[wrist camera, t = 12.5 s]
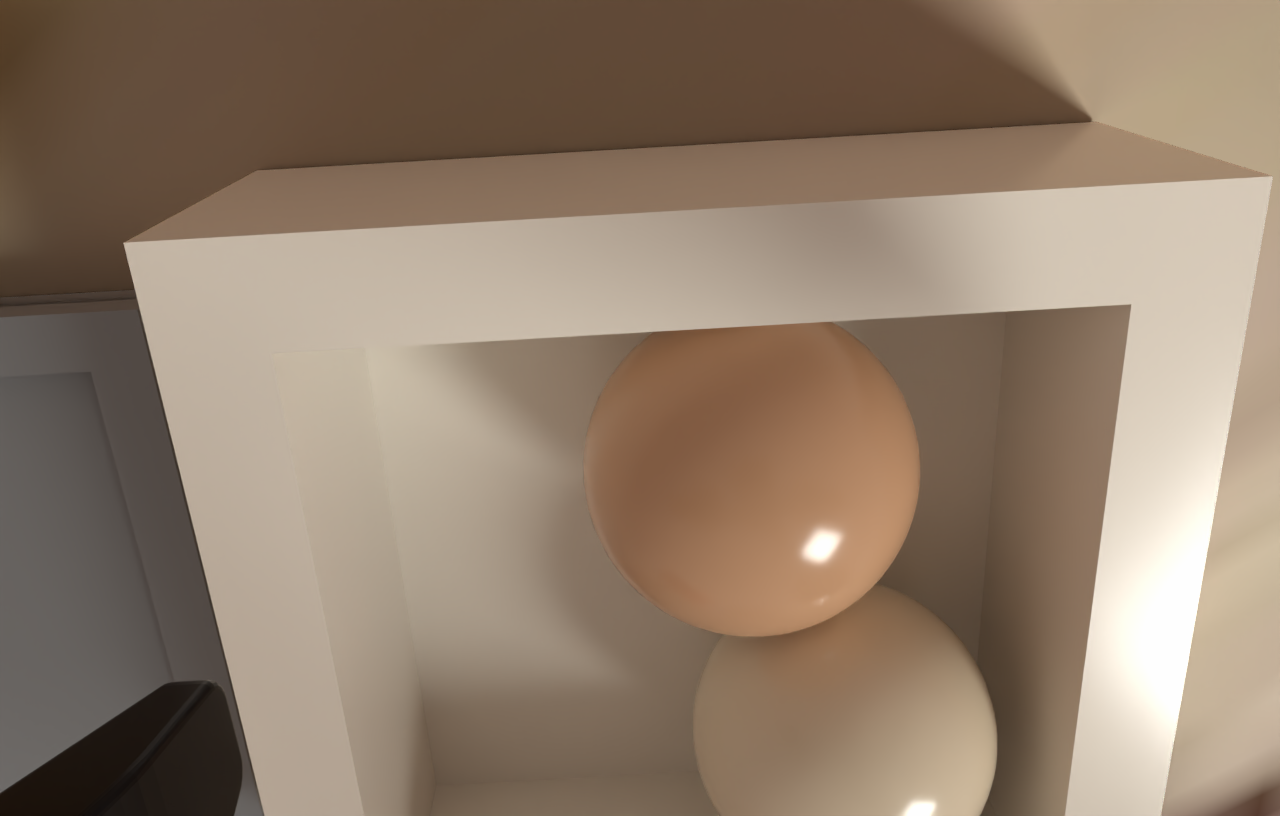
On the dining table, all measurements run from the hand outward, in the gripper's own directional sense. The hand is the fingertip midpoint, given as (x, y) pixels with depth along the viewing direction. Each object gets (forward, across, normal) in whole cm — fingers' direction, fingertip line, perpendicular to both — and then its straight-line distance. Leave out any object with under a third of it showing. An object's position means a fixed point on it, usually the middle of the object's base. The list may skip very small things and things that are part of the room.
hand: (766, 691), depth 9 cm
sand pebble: (+6, 0, +4) cm, 7 cm away
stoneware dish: (+7, 0, +2) cm, 7 cm away
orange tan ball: (+6, 0, 0) cm, 6 cm away
